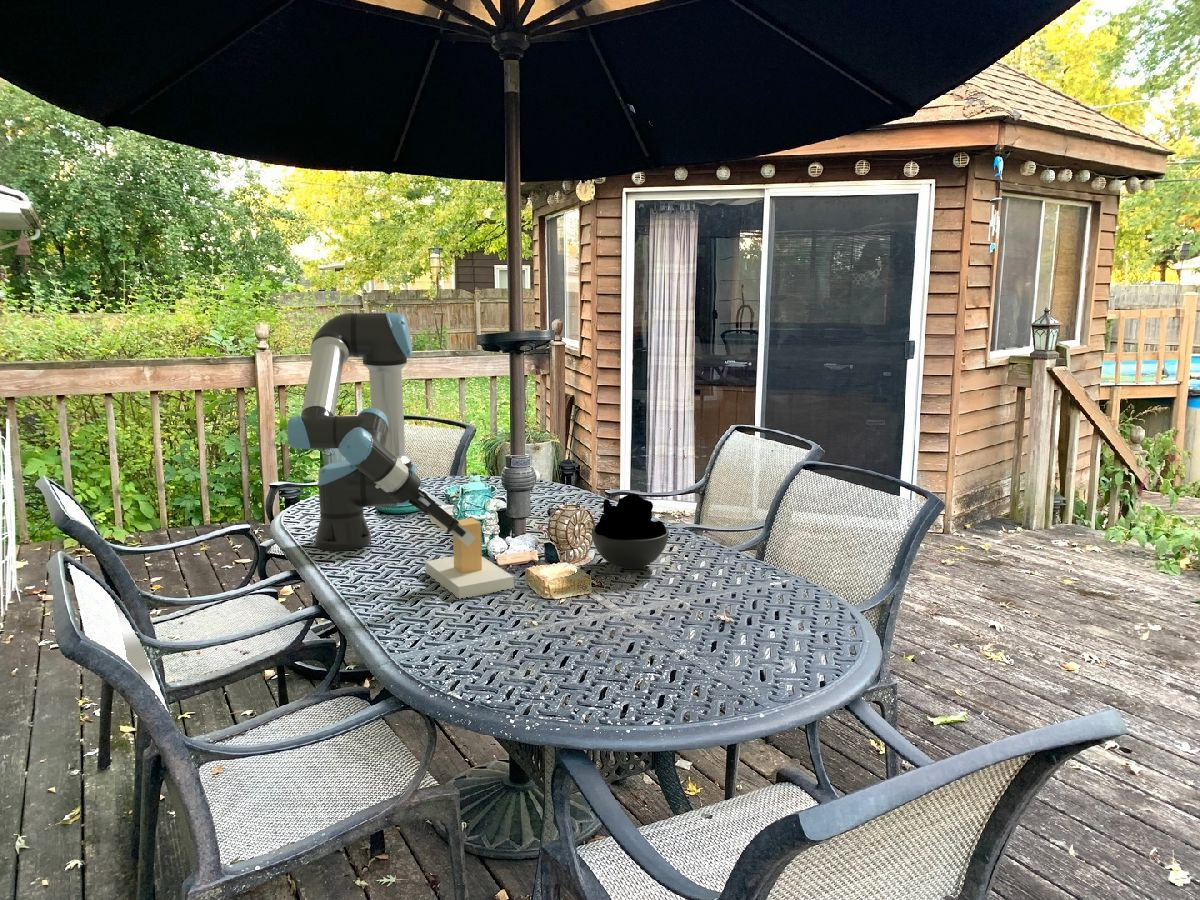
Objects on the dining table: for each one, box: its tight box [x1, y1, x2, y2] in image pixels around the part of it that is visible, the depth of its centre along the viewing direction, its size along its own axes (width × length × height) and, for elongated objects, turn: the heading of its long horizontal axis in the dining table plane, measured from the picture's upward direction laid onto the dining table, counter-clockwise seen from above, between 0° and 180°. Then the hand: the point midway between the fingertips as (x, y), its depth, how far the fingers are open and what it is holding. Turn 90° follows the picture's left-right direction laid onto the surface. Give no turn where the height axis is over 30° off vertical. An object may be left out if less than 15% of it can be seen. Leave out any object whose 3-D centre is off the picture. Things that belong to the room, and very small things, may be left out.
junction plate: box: [424, 556, 515, 600], centre depth 203 cm, size 22×14×8 cm, turn 32°
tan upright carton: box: [452, 517, 483, 573], centre depth 202 cm, size 5×5×12 cm
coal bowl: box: [591, 493, 670, 570], centre depth 213 cm, size 20×20×19 cm
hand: (460, 534), depth 200 cm, fingers open, 13 cm apart
